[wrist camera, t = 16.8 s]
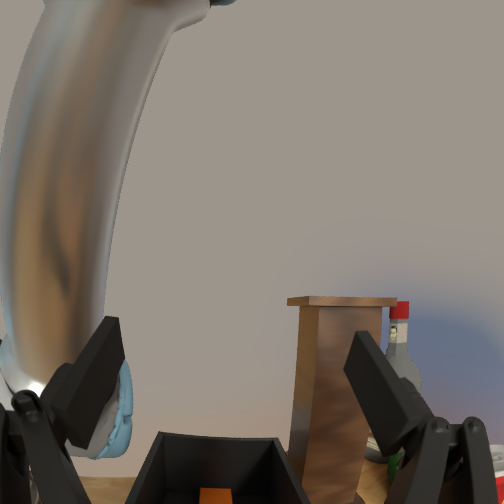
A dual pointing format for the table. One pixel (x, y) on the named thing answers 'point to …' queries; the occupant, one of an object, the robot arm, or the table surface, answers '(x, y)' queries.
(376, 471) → the table surface
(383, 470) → the table surface
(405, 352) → the liquor
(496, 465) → the canned food
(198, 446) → the dark grey open box
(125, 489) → the table surface
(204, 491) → the orange bar
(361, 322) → the wooden pedestal column
